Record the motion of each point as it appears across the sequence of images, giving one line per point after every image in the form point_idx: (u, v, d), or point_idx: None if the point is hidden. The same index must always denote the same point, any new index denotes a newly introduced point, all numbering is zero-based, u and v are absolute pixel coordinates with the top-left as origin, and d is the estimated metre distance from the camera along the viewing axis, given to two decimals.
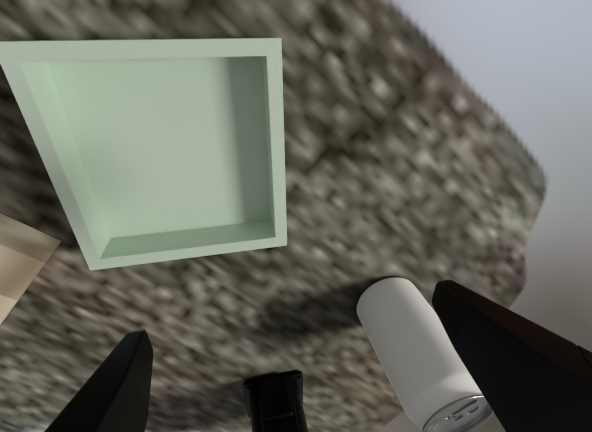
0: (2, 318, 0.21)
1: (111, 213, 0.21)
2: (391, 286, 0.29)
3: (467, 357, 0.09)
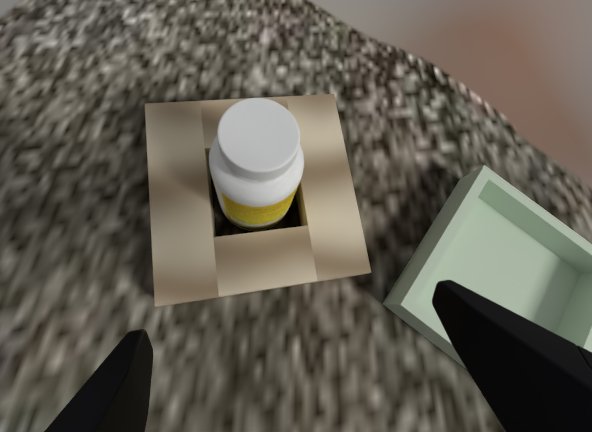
0: (287, 284, 0.21)
1: None
2: None
3: (467, 357, 0.09)
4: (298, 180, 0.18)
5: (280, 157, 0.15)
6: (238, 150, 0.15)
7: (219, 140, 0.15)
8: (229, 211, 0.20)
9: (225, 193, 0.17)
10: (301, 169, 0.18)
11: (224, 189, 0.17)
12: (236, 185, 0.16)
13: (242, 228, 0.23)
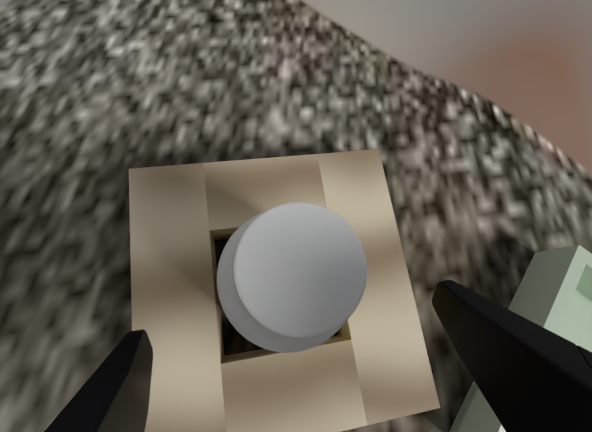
0: None
1: None
2: None
3: (467, 357, 0.09)
4: None
5: (338, 309, 0.09)
6: (268, 300, 0.09)
7: (236, 283, 0.09)
8: None
9: None
10: None
11: (241, 332, 0.11)
12: (260, 330, 0.10)
13: None
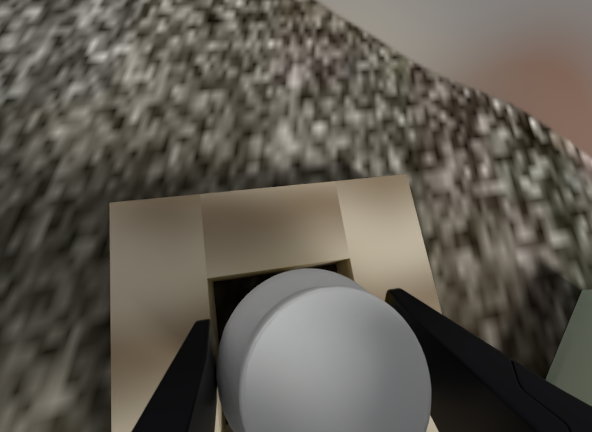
0: None
1: None
2: None
3: None
4: None
5: None
6: None
7: (245, 422, 0.06)
8: None
9: None
10: None
11: None
12: None
13: None
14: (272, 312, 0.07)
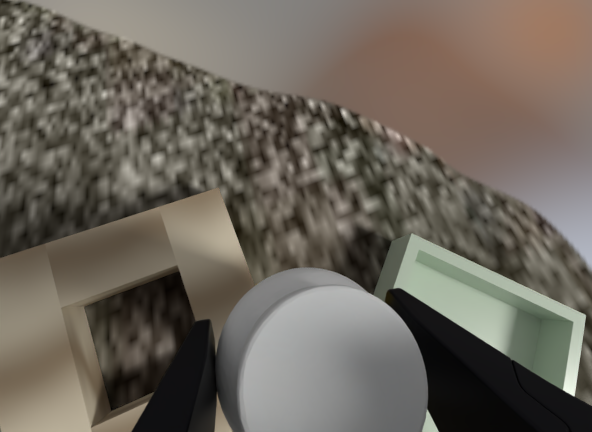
0: None
1: None
2: None
3: None
4: None
5: None
6: None
7: (243, 419, 0.06)
8: None
9: None
10: None
11: None
12: None
13: None
14: (270, 311, 0.07)
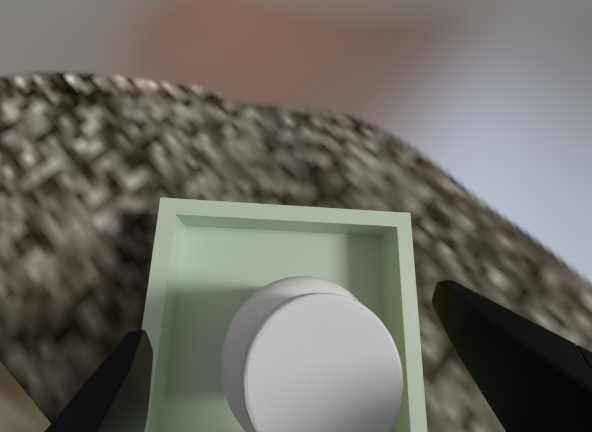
0: None
1: (175, 416, 0.15)
2: None
3: (467, 357, 0.09)
4: None
5: None
6: (286, 426, 0.07)
7: (247, 405, 0.07)
8: None
9: None
10: None
11: None
12: None
13: None
14: (270, 315, 0.08)
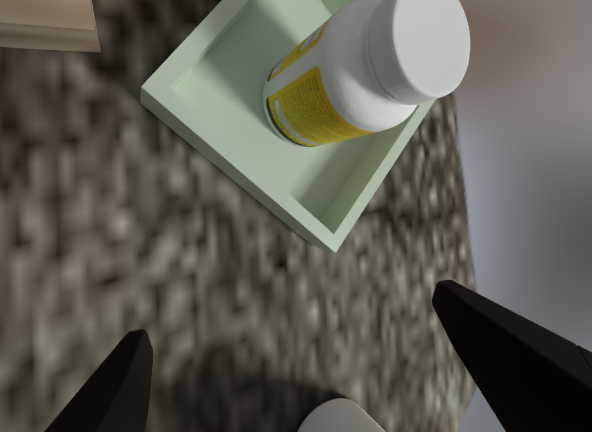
0: None
1: (198, 82, 0.17)
2: (357, 408, 0.23)
3: (467, 357, 0.09)
4: (396, 124, 0.14)
5: (433, 84, 0.11)
6: (406, 34, 0.10)
7: (397, 1, 0.10)
8: (287, 94, 0.15)
9: (324, 70, 0.12)
10: (407, 116, 0.14)
11: (330, 65, 0.12)
12: (349, 72, 0.12)
13: (270, 123, 0.18)
14: None
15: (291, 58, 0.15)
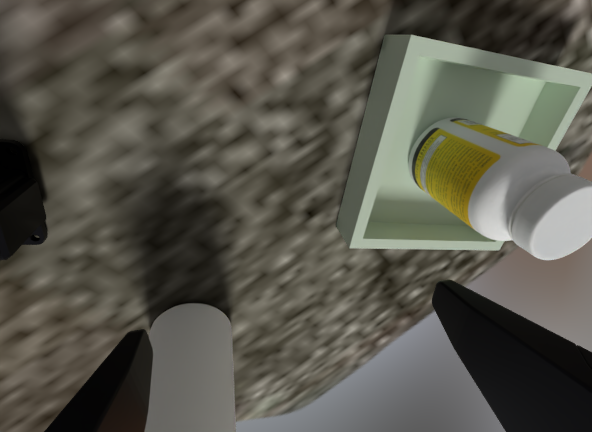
0: None
1: (422, 69, 0.19)
2: (231, 336, 0.26)
3: (467, 357, 0.09)
4: (484, 235, 0.17)
5: (539, 244, 0.14)
6: (566, 206, 0.13)
7: (586, 187, 0.13)
8: (456, 143, 0.18)
9: (501, 163, 0.15)
10: (493, 239, 0.17)
11: (509, 165, 0.15)
12: (511, 181, 0.15)
13: (418, 141, 0.21)
14: None
15: (485, 130, 0.18)
